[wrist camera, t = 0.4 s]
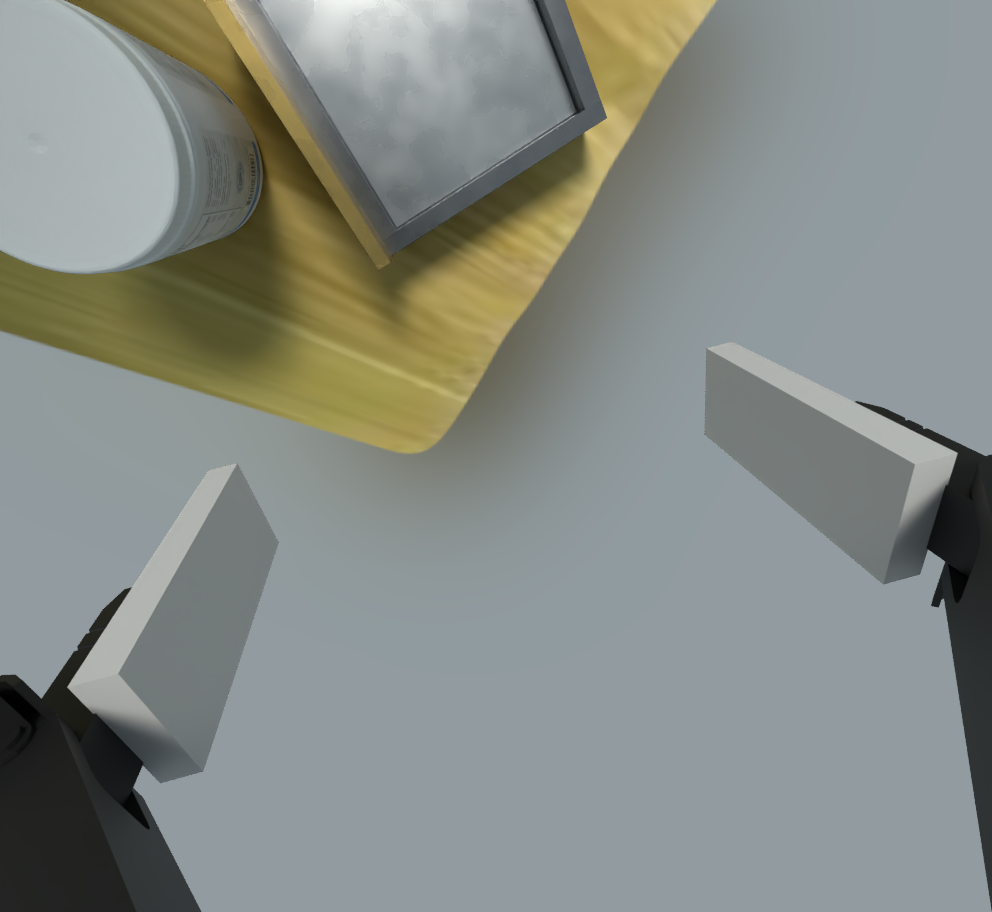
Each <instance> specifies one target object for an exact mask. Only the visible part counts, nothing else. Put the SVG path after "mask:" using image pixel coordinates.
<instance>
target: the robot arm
mask: <svg viewBox="0 0 992 912" xmlns="http://www.w3.org/2000/svg"><path fill="white" fill-rule="evenodd" d="M705 435H706V436H707V437H708V438H710V439H711V440H712V441H713V442H714V443H716V444H717V445H718V446H719V447H720V448H722V449H723V450H724V451H725V452H726V453H728V454H729V455H730V456H731V457H732V458H733V459H735V460H736V461H737V462H738V463H739V464H741V465H742V466H743V467H744V468H746V469H747V470H748V471H749V472H750V473H751V474H753V475H754V476H755V477H756V478H757V479H758V480H760V481H761V482H762V483H763V484H764V485H766V486H767V487H768V488H769V489H770V490H772V491H773V492H774V493H775V494H776V495H777V496H779V497H780V498H781V499H782V500H784V501H785V502H786V503H787V504H788V505H789V506H791V507H792V508H793V509H794V510H795V511H797V512H798V513H799V514H800V515H801V516H802V517H804V518H805V519H806V520H807V521H808V522H810V523H811V524H812V525H813V526H814V527H816V528H817V529H818V530H819V531H820V532H822V533H823V534H824V535H825V536H826V537H827V538H829V539H830V540H831V541H832V542H833V543H835V544H836V545H837V546H838V547H839V548H841V549H842V550H843V551H844V552H845V553H847V554H848V555H849V556H850V557H851V558H852V559H854V560H855V561H856V562H857V563H858V564H860V565H861V566H862V567H863V568H864V569H866V570H867V571H868V572H869V573H871V574H872V575H873V576H874V577H875V578H876V579H877V580H879V581H880V582H881V583H882V584H887V583H890V582H893V581H897V580H901V579H905V578H908V577H912V576H916V575H919V574H920V573H921V569H922V567H923V563H924V560H925V557H926V554H927V550H930V551H931V552H933V553H934V554H935V555H937V556H938V557H940V558H941V559H943V560H944V561H945V565H944V567H943V570H942V573H941V576H940V579H939V582H938V585H937V588H936V591H935V594H934V597H933V601H932V604H931V606H934V607H939V605H940V602H941V600H942V599H944V601H945V608H946V614H947V621H948V627H949V634H950V640H951V647H952V653H953V659H954V667H955V673H956V680H957V686H958V693H959V699H960V705H961V712H962V718H963V725H964V731H965V738H966V745H967V752H968V758H969V765H970V771H971V778H972V784H973V791H974V798H975V804H976V811H977V817H978V823H979V830H980V837H981V843H982V850H983V856H984V863H985V870H986V876H987V882H988V889H989V896H990V902H991V909H992V455H988V456H984V455H982V454H980V453H978V452H976V451H974V450H972V449H969V448H967V447H965V446H963V445H961V444H959V443H957V442H955V441H952V440H950V439H948V438H946V437H944V436H942V435H940V434H938V433H936V432H934V431H932V430H929V429H923V426H921V425H919V424H917V423H915V422H912V421H910V420H907V421H906V420H905V418H904V417H902V416H900V415H898V414H896V413H894V412H891V411H889V410H887V409H885V408H882V407H878V406H874V405H870V404H866V403H862V402H858V401H856V402H853V401H851V400H849V399H847V398H845V397H843V396H841V395H839V394H837V393H835V392H833V391H831V390H829V389H827V388H825V387H822V386H821V385H818V384H816V383H815V382H812V381H811V380H808V379H806V378H804V377H802V376H800V375H798V374H796V373H794V372H792V371H790V370H788V369H786V368H784V367H782V366H780V365H778V364H776V363H774V362H772V361H770V360H768V359H766V358H764V357H762V356H760V355H758V354H756V353H754V352H752V351H750V350H747V349H745V348H744V347H741V346H739V345H737V344H735V343H733V342H730V343H726V344H722V345H718V346H714V347H710V348H706V395H705ZM278 543H279V542H278V540H277V538H276V536H275V534H274V532H273V531H272V529H271V527H270V525H269V523H268V521H267V519H266V517H265V515H264V513H263V511H262V509H261V508H260V506H259V504H258V502H257V500H256V498H255V496H254V494H253V492H252V490H251V488H250V487H249V485H248V483H247V481H246V479H245V477H244V475H243V473H242V471H241V469H240V467H239V465H238V464H237V463H236V464H232V465H228V466H224V467H220V468H215V469H212V470H208V472H207V473H206V475H205V476H204V478H203V480H202V481H201V483H200V484H199V486H198V487H197V489H196V490H195V492H194V493H193V495H192V496H191V498H190V499H189V501H188V503H187V504H186V506H185V507H184V509H183V510H182V512H181V513H180V515H179V517H178V518H177V519H176V521H175V522H174V524H173V526H172V527H171V529H170V530H169V532H168V533H167V535H166V536H165V538H164V539H163V541H162V542H161V544H160V546H159V547H158V549H157V550H156V552H155V553H154V555H153V556H152V558H151V559H150V561H149V562H148V564H147V566H146V567H145V569H144V570H143V572H142V573H141V575H140V577H139V578H138V579H137V581H136V582H135V584H134V585H133V587H132V588H128V589H125V590H123V591H122V592H121V593H120V594H119V595H118V596H117V597H116V598H115V599H114V600H113V601H112V602H110V604H109V605H107V606H106V607H105V608H104V609H103V611H102V612H101V613H100V615H99V616H98V617H97V619H96V620H95V622H94V623H93V625H92V626H91V628H90V629H89V631H90V633H88V634H86V635H85V636H84V638H83V639H82V641H81V642H80V644H79V645H78V651H74V652H73V654H72V655H71V657H70V658H69V660H68V661H67V663H66V664H65V666H64V667H63V669H62V670H61V672H60V673H59V674H58V676H57V677H56V679H55V680H54V682H53V683H52V685H51V686H50V687H49V689H48V690H47V692H46V693H45V695H44V696H43V698H42V699H41V698H40V697H39V696H38V695H37V694H36V693H35V692H34V691H33V690H32V689H31V688H29V686H27V685H26V683H25V682H24V681H22V680H21V679H20V678H19V677H18V676H16V675H1V676H0V912H201V910H200V908H199V906H198V904H197V903H196V900H195V899H194V896H193V895H192V893H191V891H190V889H189V887H188V885H187V883H186V881H185V879H184V877H183V875H182V873H181V871H180V869H179V867H178V865H177V863H176V861H175V859H174V857H173V855H172V853H171V851H170V850H169V847H168V845H167V844H166V842H165V840H164V838H163V836H162V834H161V832H160V830H159V828H158V826H157V824H156V822H155V820H154V818H153V816H152V814H151V812H150V810H149V808H148V806H147V804H146V802H145V800H144V799H143V797H142V796H141V795H140V794H139V793H138V792H137V791H136V790H135V789H134V788H133V786H134V784H135V782H136V779H137V777H138V775H139V772H140V770H141V768H142V766H144V767H145V768H146V769H147V770H148V771H149V772H150V773H151V774H152V775H153V776H154V777H155V778H156V779H157V780H158V781H159V782H160V783H163V782H167V781H170V780H174V779H177V778H181V777H185V776H188V775H192V774H195V773H199V772H203V770H204V767H205V764H206V761H207V758H208V755H209V752H210V749H211V746H212V743H213V740H214V737H215V734H216V731H217V728H218V725H219V722H220V719H221V716H222V713H223V710H224V707H225V704H226V700H227V698H228V694H229V691H230V688H231V686H232V682H233V679H234V676H235V673H236V670H237V667H238V664H239V661H240V658H241V655H242V652H243V649H244V646H245V643H246V640H247V637H248V634H249V631H250V628H251V625H252V622H253V619H254V616H255V613H256V610H257V607H258V603H259V601H260V597H261V595H262V592H263V589H264V585H265V582H266V579H267V576H268V573H269V570H270V567H271V564H272V561H273V558H274V555H275V552H276V549H277V546H278Z"/></svg>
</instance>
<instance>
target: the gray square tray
mask: <svg viewBox="0 0 992 912" xmlns="http://www.w3.org/2000/svg"><path fill="white" fill-rule="evenodd" d="M203 1H204V3H205V4H206V6H207V7H208V9H209V10H210V12H211V13H212V15H213V16H214V18H215V20H216V21H217V23H218V24H219V26H220V27H221V29H222V30H223V32H224V33H225V35H226V36H227V38H228V40H229V41H230V43H231V44H232V46H233V47H234V49H235V50H236V52H237V53H238V55H239V56H240V58H241V60H242V61H243V63H244V64H245V66H246V67H247V69H248V70H249V72H250V73H251V75H252V76H253V78H254V80H255V81H256V83H257V84H258V86H259V87H260V89H261V90H262V92H263V93H264V95H265V96H266V98H267V100H268V101H269V103H270V104H271V106H272V107H273V109H274V110H275V112H276V113H277V115H278V116H279V118H280V120H281V121H282V123H283V124H284V126H285V127H286V129H287V130H288V132H289V133H290V135H291V136H292V138H293V140H294V141H295V143H296V144H297V146H298V147H299V149H300V150H301V152H302V153H303V155H304V156H305V158H306V160H307V161H308V163H309V164H310V166H311V167H312V169H313V170H314V172H315V173H316V175H317V176H318V178H319V180H320V181H321V183H322V184H323V186H324V187H325V189H326V190H327V192H328V193H329V195H330V196H331V198H332V200H333V201H334V203H335V204H336V206H337V207H338V209H339V210H340V212H341V213H342V215H343V216H344V218H345V220H346V221H347V223H348V224H349V226H350V227H351V229H352V230H353V232H354V233H355V235H356V236H357V238H358V240H359V241H360V243H361V244H362V246H363V247H364V249H365V250H366V252H367V253H368V255H369V256H370V258H371V260H372V261H373V263H374V264H375V266H376V267H377V269H378V270H380V269H382V268H383V267H385V266H386V265H388V264H390V263H391V258H392V255H393V254H395V253H396V252H398V251H400V250H401V249H403V248H404V247H406V246H407V245H409V244H411V243H412V242H414V241H415V240H417V239H418V238H420V237H421V236H423V235H425V234H426V233H428V232H429V231H431V230H432V229H434V228H436V227H437V226H439V225H440V224H442V223H443V222H445V221H447V220H448V219H450V218H451V217H453V216H454V215H456V214H457V213H459V212H461V211H462V210H464V209H465V208H467V207H468V206H470V205H472V204H473V203H475V202H476V201H478V200H479V199H481V198H483V197H484V196H486V195H487V194H489V193H490V192H492V191H493V190H495V189H497V188H498V187H500V186H501V185H503V184H504V183H506V182H508V181H509V180H511V179H512V178H514V177H515V176H517V175H519V174H520V173H522V172H523V171H525V170H526V169H528V168H529V167H531V166H533V165H534V164H536V163H537V162H539V161H540V160H542V159H544V158H545V157H547V156H548V155H550V154H551V153H553V152H555V151H556V150H558V149H559V148H561V147H562V146H564V145H565V144H567V143H569V142H570V141H572V140H573V139H575V138H576V137H578V136H580V135H581V134H583V133H584V132H586V131H587V130H589V129H590V128H592V127H594V126H595V125H597V124H598V123H600V122H601V121H603V120H605V119H606V118H607V116H606V114H605V111H604V108H603V105H602V102H601V100H600V97H599V94H598V91H597V89H596V86H595V83H594V80H593V77H592V75H591V72H590V69H589V66H588V63H587V61H586V58H585V55H584V52H583V50H582V47H581V44H580V41H579V38H578V36H577V33H576V30H575V27H574V25H573V22H572V19H571V16H570V13H569V11H568V8H567V5H566V2H565V0H203Z"/></svg>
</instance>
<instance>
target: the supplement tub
mask: <svg viewBox="0 0 992 912" xmlns="http://www.w3.org/2000/svg"><path fill="white" fill-rule="evenodd" d="M262 181H263V170H262V160H261V155H260V151H259V147H258V144H257V141H256V138H255V136H254V133H253V131H252V129H251V127H250V125H249V123H248V121H247V120H246V118H245V116H244V115H243V113H242V112H241V111H240V109H239V108H238V106H237V105H236V104H235V103H234V102H233V100H232V99H231V98H230V97H229V96H228V95H227V94H226V93H225V92H224V91H223V90H222V89H221V88H220V87H219V86H217V85H216V84H215V83H214V82H213V81H211V80H210V79H209V78H207V77H206V76H204V75H203V74H202V73H200V72H198V71H197V70H195V69H193V68H192V67H190V66H188V65H186V64H184V63H182V62H180V61H179V60H177V59H175V58H173V57H171V56H169V55H167V54H166V53H164V52H162V51H160V50H158V49H156V48H155V47H153V46H151V45H149V44H147V43H145V42H143V41H141V40H139V39H138V38H136V37H134V36H132V35H130V34H128V33H127V32H125V31H123V30H121V29H119V28H117V27H115V26H113V25H112V24H110V23H108V22H106V21H104V20H103V19H101V18H99V17H97V16H95V15H93V14H91V13H89V12H87V11H85V10H83V9H82V8H79V7H77V6H75V5H73V4H71V3H69V2H67V1H65V0H0V251H2V252H4V253H6V254H8V255H10V256H12V257H14V258H17V259H19V260H21V261H23V262H26V263H29V264H32V265H34V266H38V267H41V268H45V269H49V270H53V271H58V272H64V273H72V274H97V273H106V272H118V271H125V270H129V269H132V268H136V267H140V266H143V265H146V264H149V263H153V262H156V261H158V260H161V259H164V258H167V257H170V256H173V255H176V254H178V253H181V252H184V251H187V250H190V249H193V248H196V247H199V246H202V245H204V244H207V243H210V242H212V241H215V240H218V239H221V238H224V237H226V236H228V235H230V234H231V233H233V232H235V231H236V230H238V229H239V228H240V227H241V226H242V225H243V224H245V223H246V221H247V220H248V219H249V217H250V216H251V215H252V213H253V211H254V210H255V208H256V206H257V203H258V201H259V198H260V194H261V189H262Z"/></svg>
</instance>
